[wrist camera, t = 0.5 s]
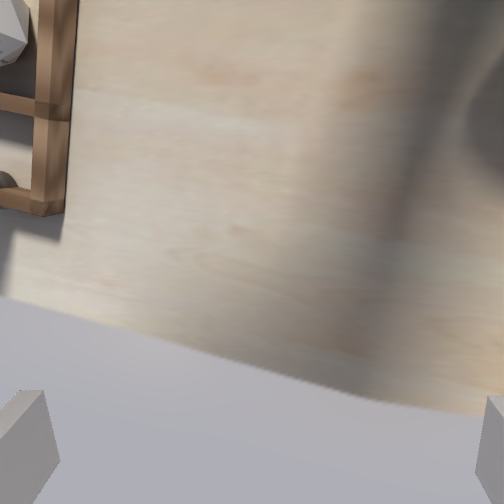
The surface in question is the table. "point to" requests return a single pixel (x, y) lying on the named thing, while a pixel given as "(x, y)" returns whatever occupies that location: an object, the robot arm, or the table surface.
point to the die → (13, 30)
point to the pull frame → (46, 113)
